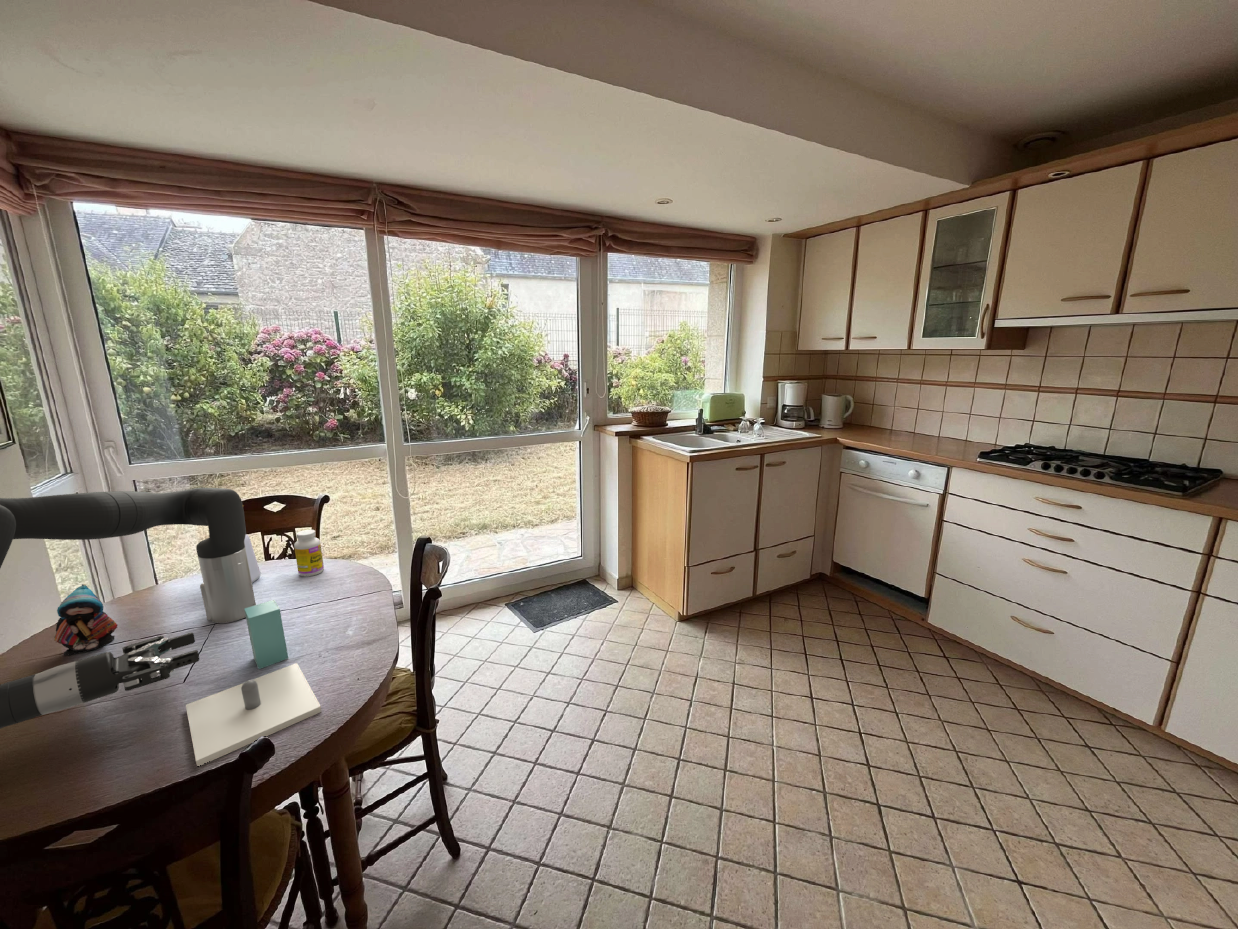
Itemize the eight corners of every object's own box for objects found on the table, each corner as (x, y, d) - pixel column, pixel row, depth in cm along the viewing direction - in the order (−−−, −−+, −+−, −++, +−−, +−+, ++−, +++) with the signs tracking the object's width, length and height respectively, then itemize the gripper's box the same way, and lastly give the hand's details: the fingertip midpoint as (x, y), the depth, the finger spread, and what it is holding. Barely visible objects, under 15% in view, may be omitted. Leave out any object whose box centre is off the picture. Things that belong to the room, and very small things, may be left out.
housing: (258, 669, 105) (248, 618, 102) (253, 658, 109) (244, 608, 106) (288, 658, 109) (279, 608, 106) (282, 647, 112) (274, 599, 110)
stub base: (197, 767, 81) (189, 734, 79) (187, 710, 93) (180, 680, 92) (321, 711, 93) (316, 682, 91) (297, 668, 105) (293, 641, 104)
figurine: (55, 665, 106) (36, 601, 103) (62, 649, 112) (44, 588, 108) (120, 647, 112) (104, 587, 109) (124, 633, 118) (108, 575, 114)
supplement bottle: (312, 578, 146) (306, 537, 143) (293, 576, 147) (286, 535, 144) (329, 568, 152) (323, 529, 149) (311, 566, 153) (305, 527, 150)
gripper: (69, 682, 82) (196, 643, 93) (75, 646, 92) (189, 615, 103) (80, 721, 84) (204, 679, 95) (84, 682, 93) (196, 647, 105)
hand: (196, 646), depth 99 cm, fingers open, 8 cm apart
